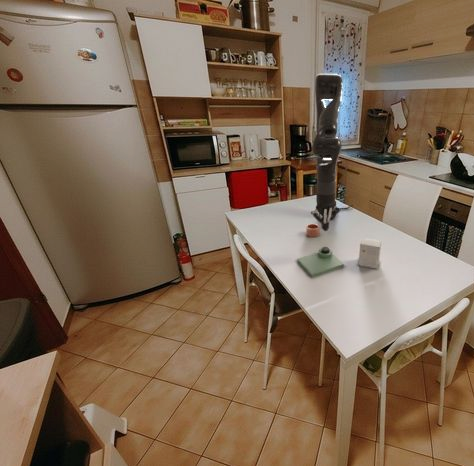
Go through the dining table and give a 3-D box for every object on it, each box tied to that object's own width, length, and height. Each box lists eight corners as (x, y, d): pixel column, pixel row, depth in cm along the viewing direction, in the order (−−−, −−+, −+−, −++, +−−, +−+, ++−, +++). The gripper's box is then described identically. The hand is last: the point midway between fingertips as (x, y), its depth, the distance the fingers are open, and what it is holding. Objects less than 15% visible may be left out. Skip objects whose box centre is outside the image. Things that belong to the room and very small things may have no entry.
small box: (379, 262, 113) (382, 240, 108) (377, 269, 108) (380, 247, 103) (360, 258, 115) (362, 237, 110) (358, 265, 110) (360, 243, 105)
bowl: (315, 230, 138) (315, 222, 136) (321, 235, 133) (321, 227, 131) (304, 233, 136) (304, 225, 134) (310, 238, 131) (310, 230, 129)
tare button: (326, 249, 116) (326, 246, 116) (330, 252, 114) (330, 249, 113) (320, 251, 115) (320, 247, 114) (324, 254, 112) (324, 251, 112)
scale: (327, 252, 119) (327, 246, 118) (343, 266, 109) (344, 260, 108) (297, 261, 113) (297, 255, 111) (312, 277, 103) (312, 271, 101)
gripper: (315, 196, 97) (315, 237, 105) (345, 190, 103) (343, 230, 111) (306, 190, 102) (307, 229, 111) (334, 185, 108) (333, 223, 117)
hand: (325, 229), depth 111 cm, fingers closed
